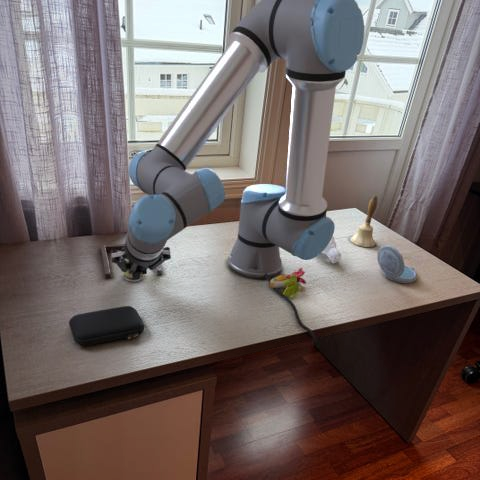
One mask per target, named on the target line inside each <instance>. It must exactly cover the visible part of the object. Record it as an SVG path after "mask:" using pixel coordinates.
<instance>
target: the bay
mask: <svg viewBox="0 0 480 480" xmlns="http://www.w3.org/2000/svg"><path fill="white" fill-rule="evenodd" d="M124 247H125V243H117V244H100V252H101V259H102V264H103V270H104V271H103V272H104V275H105V279H107V280H108V279H109V280H110V279H111V278H112V277H111V270H110V264H109V260H108V253H107V252H111V250H117V251H121V250H122V248H124ZM121 252H122V251H121ZM154 270H155V272H156V275H157V276H162V275H163V269H162V267H161V265H159V266H158V267H157V268H156V269H154Z"/></svg>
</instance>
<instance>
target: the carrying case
mask: <svg viewBox="0 0 480 480" xmlns="http://www.w3.org/2000/svg"><path fill="white" fill-rule="evenodd" d="M68 321H69V322H68V325H69V329H70V331H71V335H72V338H73V341H74V342H75V343H76V344H78V345H80V346H92V345H96V344H102V343H106V342H112V341H116V340H117V341H118V340H121V339H126V340H128V341H129V340H132V339H133V338H136V337H139V336H140V335H141V334H142V333H144V331H145V329H146V325H145V324H144V322H143V320H142V318H141V316H140V314H139V312H138V311H137V309H136V308H134V307H133V306H131V305H125V306H118V307H112V308H106V309H101V310H94V311H89V312H83V313H79V314H74V315H73V316H72V317H71V318H70V320H68Z"/></svg>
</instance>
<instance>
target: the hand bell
mask: <svg viewBox="0 0 480 480" xmlns="http://www.w3.org/2000/svg"><path fill="white" fill-rule="evenodd" d="M377 206H378V195H372V197H371V199H370V201H369V202H368V205H367V215H366V219H365V221H364V223H363V224H360V225H359V226H358V229H357V231H356V233H355V234H354V235H352V236H351V237H350V239H349V240H350V243H352V244H353V245H356V246H358V247H362V248H373V247H375V246H376V242H375V240H374V237H373V231H374V227H373V226H372V225H371V222H372V218H373V215H374V213H375V211H376V210H377Z"/></svg>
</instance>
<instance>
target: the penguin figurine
mask: <svg viewBox="0 0 480 480" xmlns="http://www.w3.org/2000/svg"><path fill="white" fill-rule="evenodd" d="M320 254H323V255H325V256H327V258H326V261H327V262H328V263H331V264H334V265H335V264H336V263H338V262H339V261H340V260H341V259H342V253H341V252H340V250H339V249H338V247H337V243H336V241H335V237H334V235H333V236H332V238H331V240H330V242H329V244H328V245H327V247H326V248H325V249H324V250H323V251H322V252H321V253H320Z"/></svg>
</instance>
